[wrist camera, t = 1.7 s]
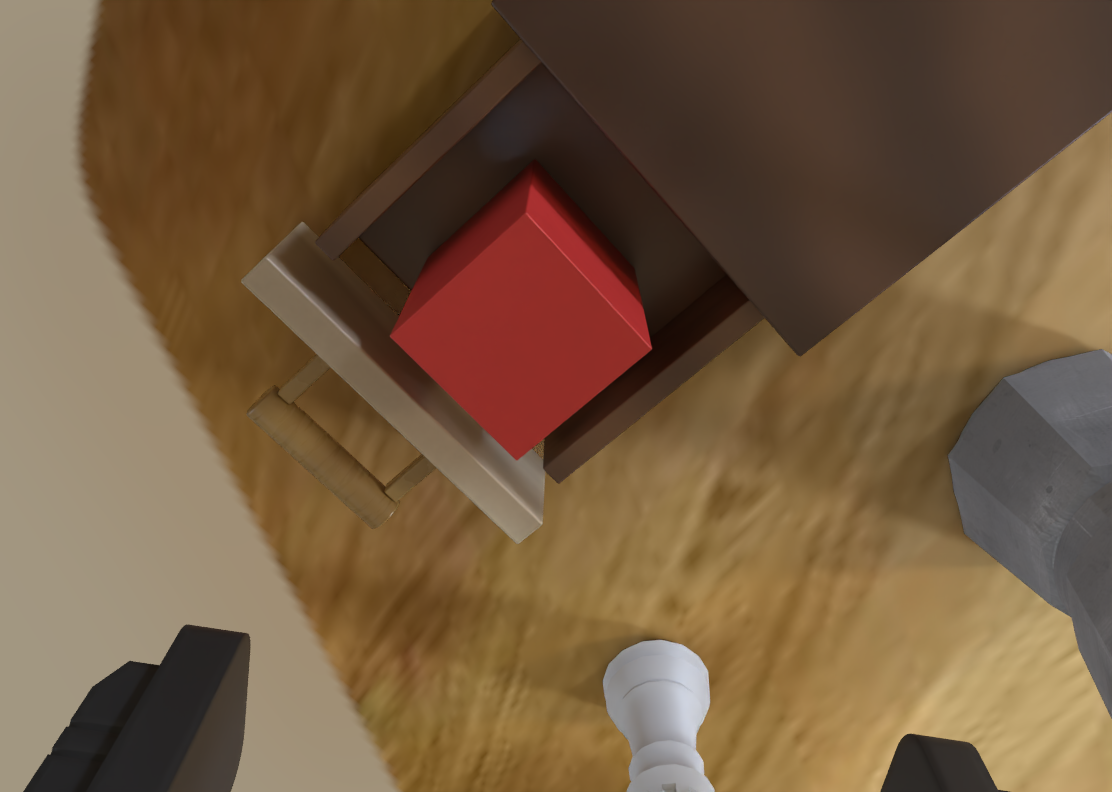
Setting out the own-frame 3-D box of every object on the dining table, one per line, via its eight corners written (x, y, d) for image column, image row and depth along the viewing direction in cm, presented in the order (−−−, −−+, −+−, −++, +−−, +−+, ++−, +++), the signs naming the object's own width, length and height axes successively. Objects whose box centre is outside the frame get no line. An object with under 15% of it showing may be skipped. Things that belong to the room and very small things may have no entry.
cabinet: (762, 295, 38) (799, 358, 32) (503, -4, 34) (489, 3, 28) (1119, 4, 34) (1239, 13, 28) (871, -369, 30) (947, -453, 24)
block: (426, 258, 35) (388, 336, 28) (535, 158, 34) (525, 212, 27) (527, 361, 37) (516, 461, 29) (635, 269, 35) (653, 349, 28)
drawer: (444, 545, 41) (429, 616, 36) (200, 320, 37) (151, 368, 33) (809, 247, 36) (842, 286, 32) (568, -41, 33) (568, -42, 28)
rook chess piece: (619, 730, 45) (629, 880, 38) (588, 648, 44) (592, 788, 36) (720, 705, 45) (750, 852, 37) (692, 620, 43) (718, 757, 36)
